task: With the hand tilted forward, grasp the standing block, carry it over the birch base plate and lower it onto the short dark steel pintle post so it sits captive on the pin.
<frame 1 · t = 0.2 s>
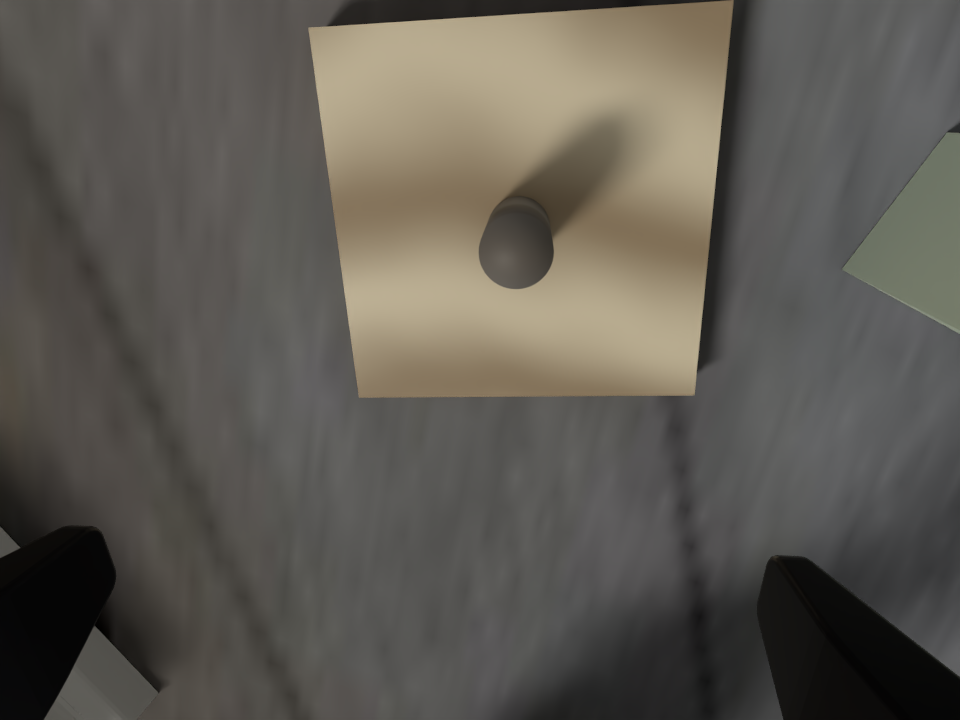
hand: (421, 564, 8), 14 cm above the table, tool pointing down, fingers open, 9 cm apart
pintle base: (519, 221, 20), on the table
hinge: (4, 601, 30), on the table
block: (952, 238, 19), on the table
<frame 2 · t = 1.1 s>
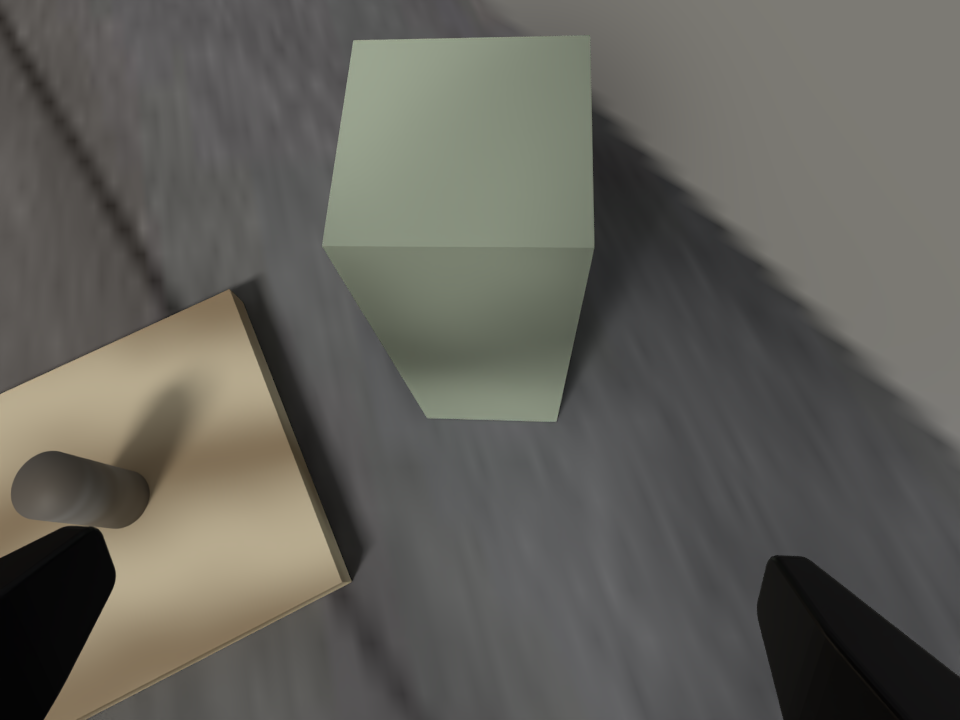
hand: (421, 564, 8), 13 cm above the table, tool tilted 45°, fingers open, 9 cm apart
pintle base: (142, 503, 22), on the table
block: (493, 359, 23), on the table
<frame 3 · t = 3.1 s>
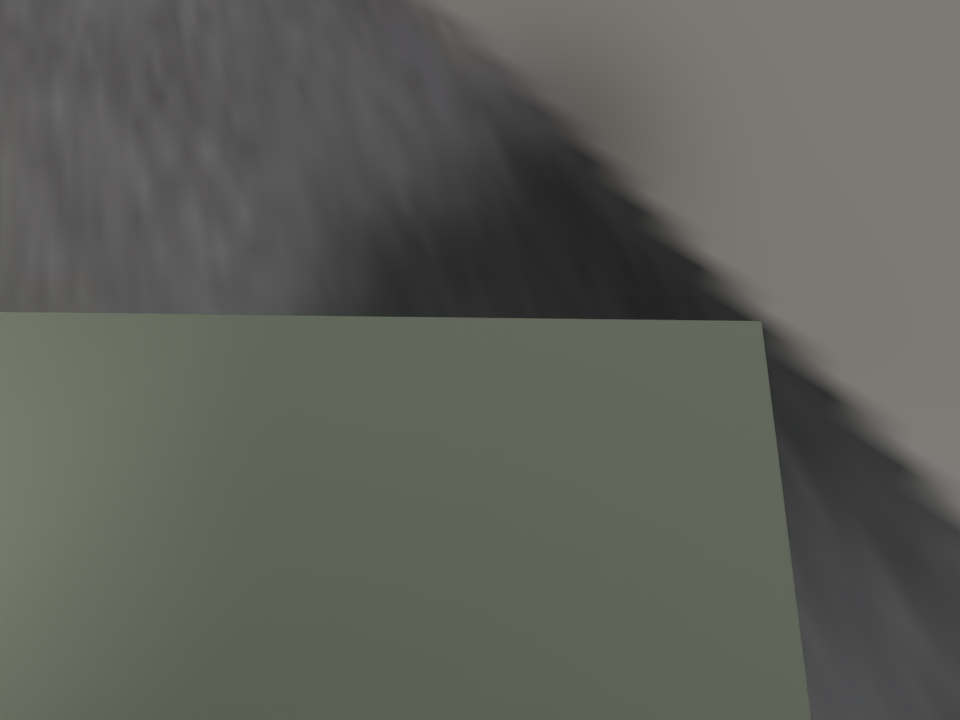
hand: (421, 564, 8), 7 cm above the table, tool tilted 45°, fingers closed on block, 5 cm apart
block: (462, 633, 14), on the table, touching gripper
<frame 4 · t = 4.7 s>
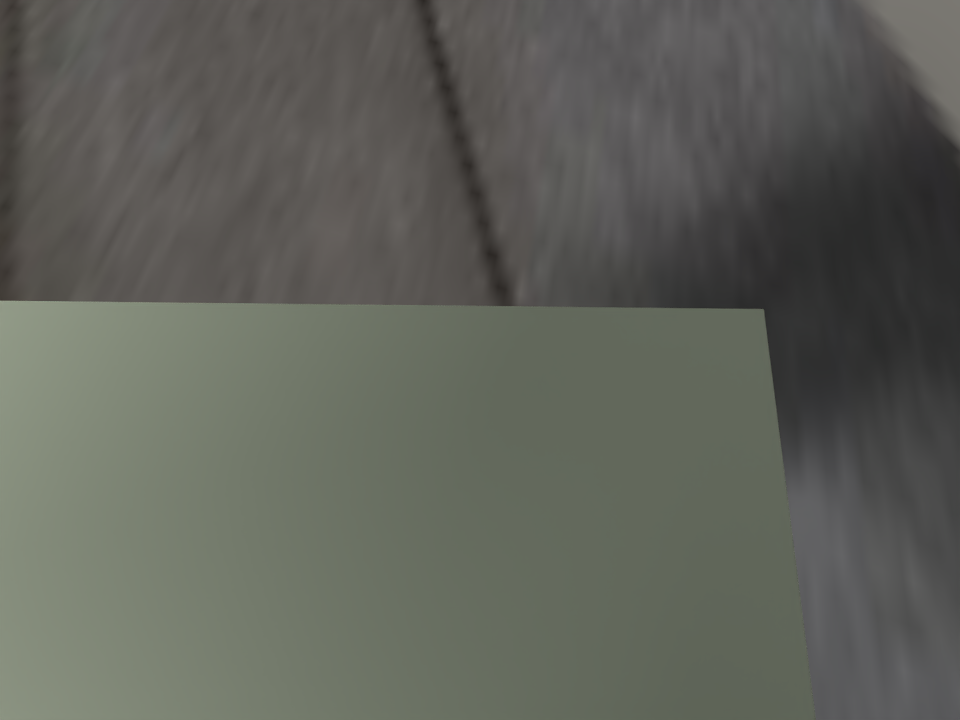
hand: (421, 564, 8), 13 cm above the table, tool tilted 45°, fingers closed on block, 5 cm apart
block: (463, 630, 14), point 7 cm above the table, touching gripper
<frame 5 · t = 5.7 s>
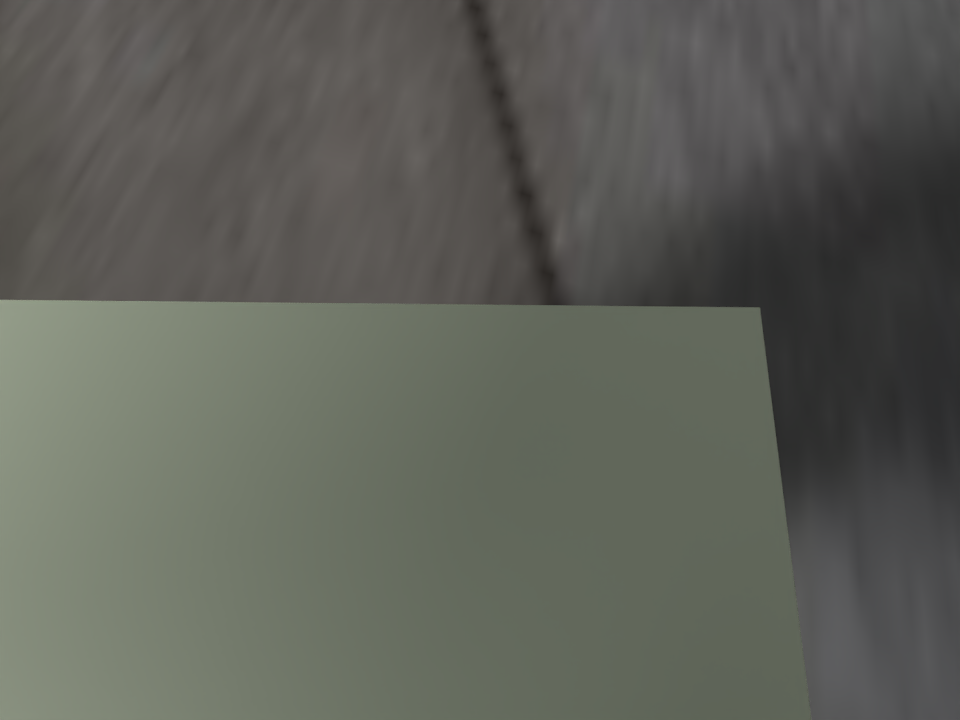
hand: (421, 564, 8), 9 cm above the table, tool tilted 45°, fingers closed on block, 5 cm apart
block: (462, 630, 14), point 3 cm above the table, touching gripper
when the fingers open (8 cm above the table, at t = 6.3 s): block stays where it is, resting on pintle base.
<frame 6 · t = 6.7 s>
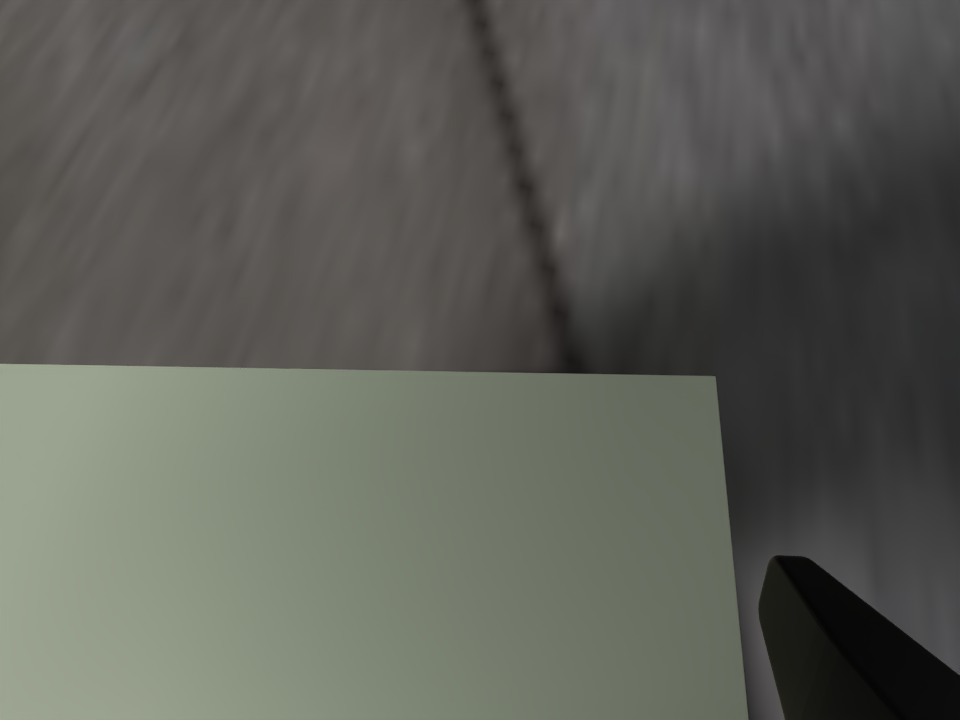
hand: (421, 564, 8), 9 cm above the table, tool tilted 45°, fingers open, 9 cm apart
block: (466, 630, 15), point 1 cm above the table, touching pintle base
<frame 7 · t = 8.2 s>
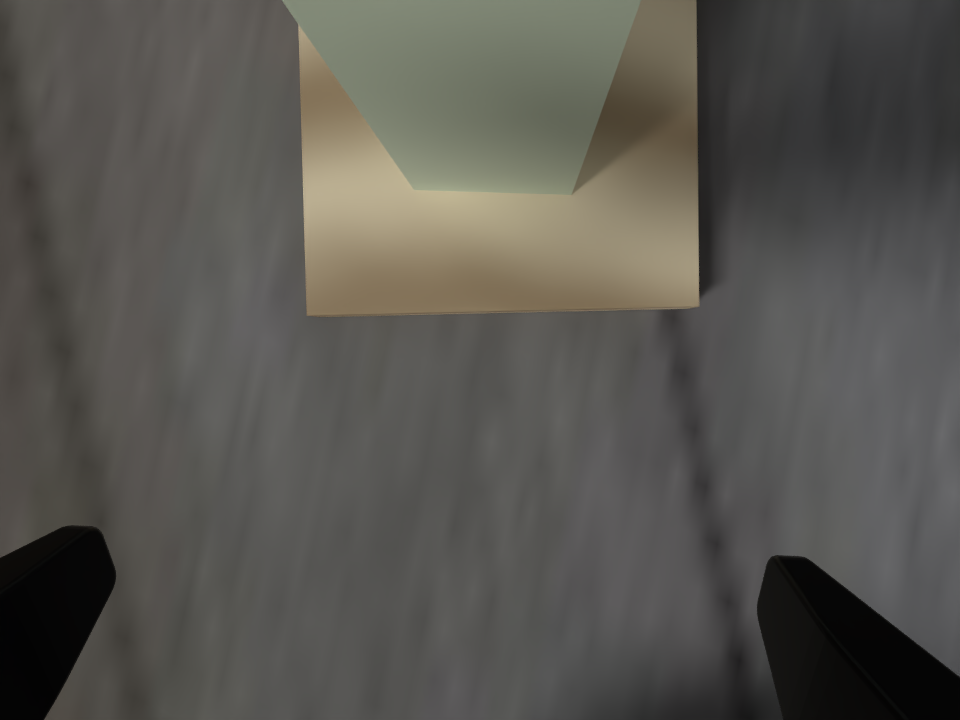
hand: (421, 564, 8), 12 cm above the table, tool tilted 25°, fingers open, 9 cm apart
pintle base: (496, 126, 19), on the table
block: (495, 112, 18), point 1 cm above the table, touching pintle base
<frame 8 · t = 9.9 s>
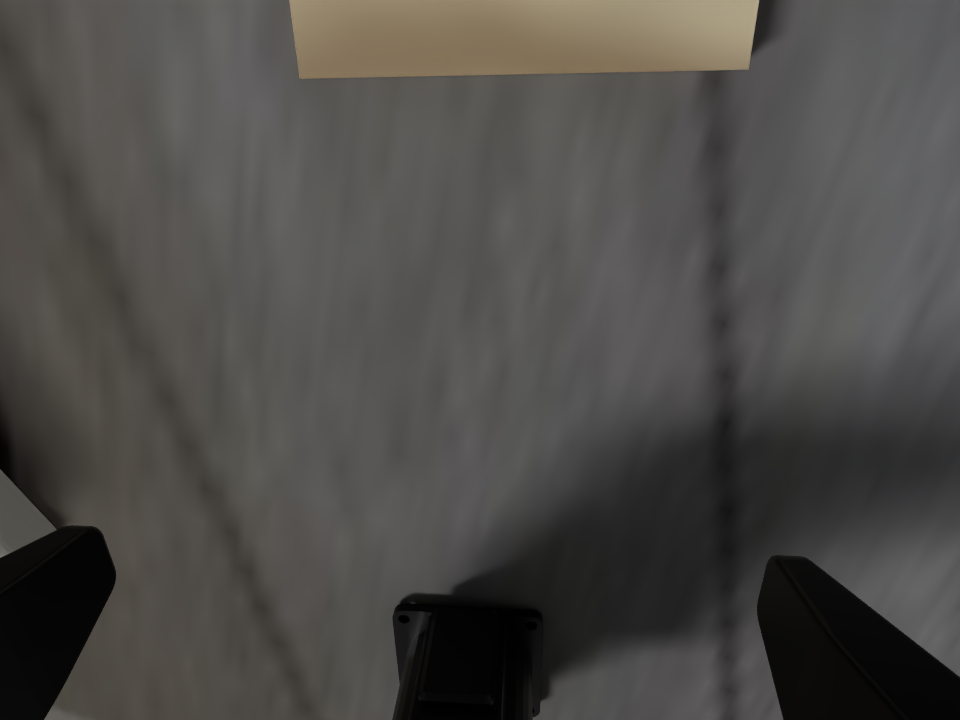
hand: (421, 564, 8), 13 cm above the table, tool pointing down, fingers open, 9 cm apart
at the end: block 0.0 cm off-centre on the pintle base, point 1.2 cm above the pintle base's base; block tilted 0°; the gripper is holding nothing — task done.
